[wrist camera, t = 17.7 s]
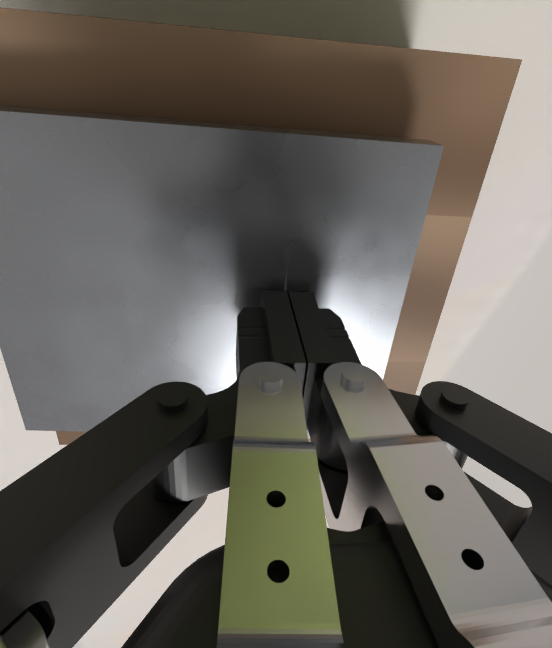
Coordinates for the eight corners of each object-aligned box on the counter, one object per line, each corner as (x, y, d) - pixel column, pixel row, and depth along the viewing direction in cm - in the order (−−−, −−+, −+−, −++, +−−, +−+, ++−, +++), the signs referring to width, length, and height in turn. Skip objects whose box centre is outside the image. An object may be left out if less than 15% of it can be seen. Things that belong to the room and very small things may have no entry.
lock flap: (38, 410, 15) (26, 430, 15) (-48, 101, 10) (-76, 105, 9) (361, 419, 16) (367, 438, 15) (429, 139, 11) (444, 145, 10)
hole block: (64, 29, 16) (-57, 1, 9) (411, 62, 18) (522, 59, 11) (109, 334, 23) (59, 444, 17) (354, 338, 25) (400, 440, 18)
